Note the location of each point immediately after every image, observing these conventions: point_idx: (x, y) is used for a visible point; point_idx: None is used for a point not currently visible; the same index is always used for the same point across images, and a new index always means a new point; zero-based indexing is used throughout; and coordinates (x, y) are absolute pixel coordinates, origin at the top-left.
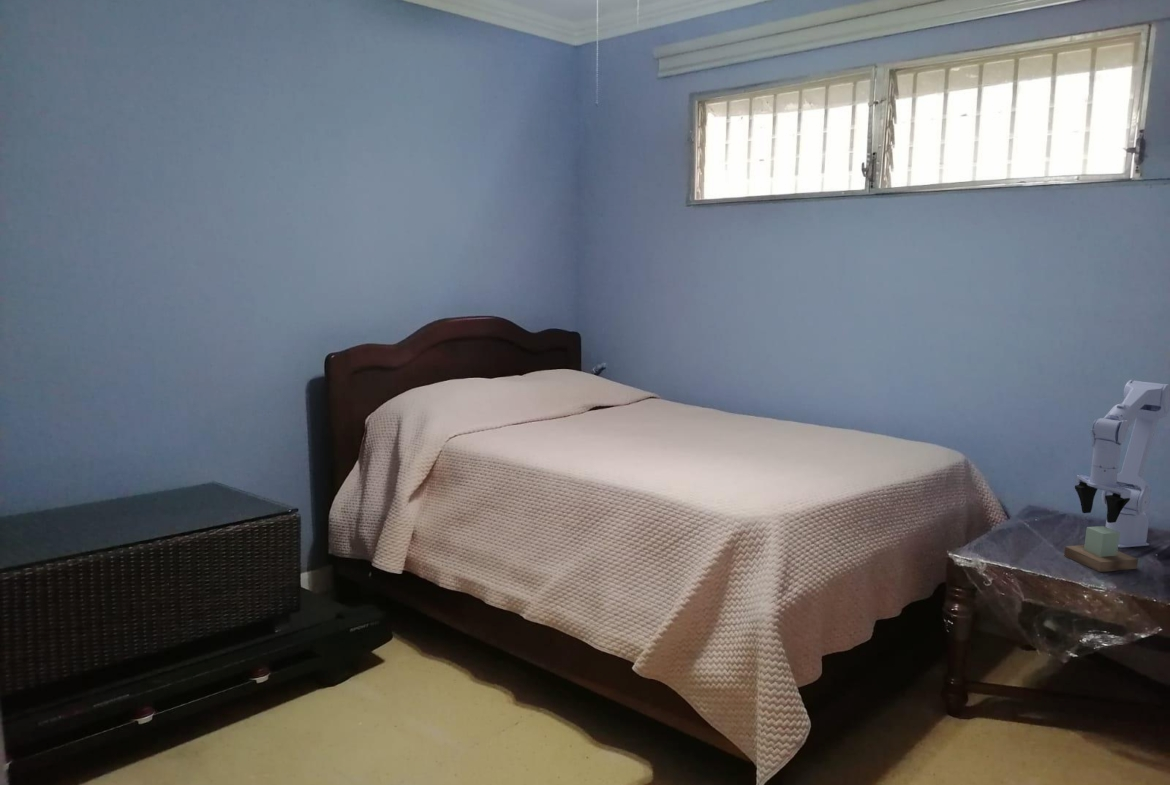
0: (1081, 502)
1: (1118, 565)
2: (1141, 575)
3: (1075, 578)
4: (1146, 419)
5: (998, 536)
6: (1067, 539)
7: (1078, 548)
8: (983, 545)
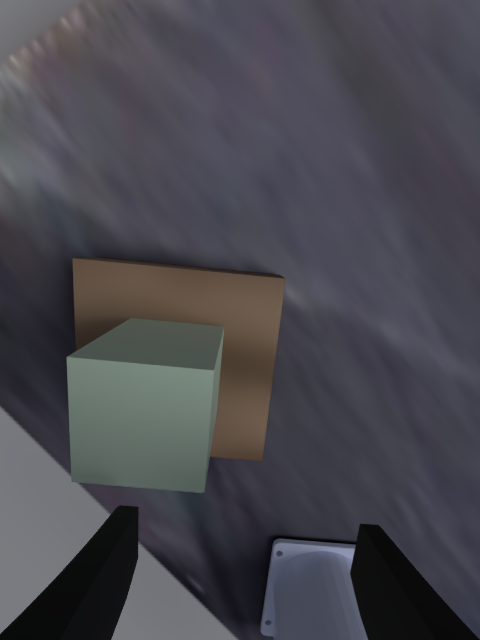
0: (442, 615)
1: None
2: (49, 386)
3: (62, 89)
4: None
5: None
6: (411, 449)
7: (244, 316)
8: None
